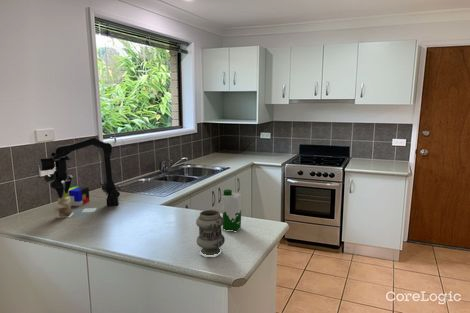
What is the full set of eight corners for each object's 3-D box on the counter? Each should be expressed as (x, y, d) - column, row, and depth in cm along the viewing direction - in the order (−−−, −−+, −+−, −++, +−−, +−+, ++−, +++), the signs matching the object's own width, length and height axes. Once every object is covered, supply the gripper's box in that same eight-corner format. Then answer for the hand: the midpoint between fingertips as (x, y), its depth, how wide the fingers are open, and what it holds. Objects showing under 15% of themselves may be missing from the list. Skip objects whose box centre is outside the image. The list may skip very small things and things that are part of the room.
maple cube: (71, 205, 192) (70, 196, 191) (68, 207, 187) (67, 199, 186) (61, 205, 191) (60, 197, 190) (58, 208, 186) (57, 199, 186)
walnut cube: (71, 213, 193) (71, 205, 192) (68, 216, 188) (68, 207, 187) (62, 213, 192) (61, 205, 191) (59, 216, 187) (58, 208, 186)
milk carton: (226, 224, 176) (226, 187, 173) (243, 227, 173) (243, 189, 170) (220, 231, 168) (219, 192, 165) (237, 233, 165) (237, 194, 161)
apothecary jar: (203, 245, 151) (202, 206, 148) (228, 248, 148) (228, 209, 145) (192, 257, 140) (191, 215, 137) (219, 260, 136) (218, 218, 134)
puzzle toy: (79, 207, 207) (78, 191, 205) (65, 206, 209) (63, 190, 207) (89, 202, 216) (88, 187, 215) (75, 201, 218) (74, 186, 217)
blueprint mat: (97, 208, 203) (97, 207, 203) (90, 217, 189) (90, 215, 188) (64, 210, 200) (64, 209, 200) (55, 218, 186) (55, 217, 186)
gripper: (51, 165, 193) (54, 192, 196) (38, 172, 175) (41, 201, 178) (72, 165, 195) (74, 191, 198) (61, 171, 177) (63, 200, 179)
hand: (63, 195), depth 188 cm, fingers open, 9 cm apart
